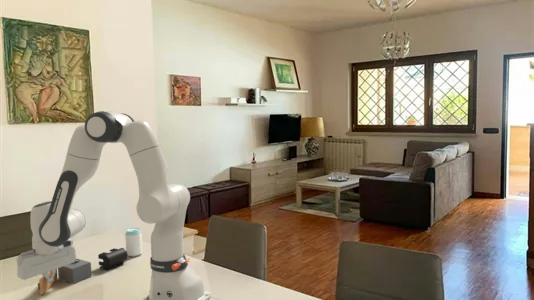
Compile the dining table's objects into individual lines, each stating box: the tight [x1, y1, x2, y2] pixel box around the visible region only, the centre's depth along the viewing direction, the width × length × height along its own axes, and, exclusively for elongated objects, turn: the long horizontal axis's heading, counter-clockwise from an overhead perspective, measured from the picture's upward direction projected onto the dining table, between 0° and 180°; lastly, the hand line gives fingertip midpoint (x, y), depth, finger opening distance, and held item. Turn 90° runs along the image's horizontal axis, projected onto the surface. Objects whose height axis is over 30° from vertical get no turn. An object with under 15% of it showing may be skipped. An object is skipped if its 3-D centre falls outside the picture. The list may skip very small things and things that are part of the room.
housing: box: [57, 257, 93, 285], centre depth 158 cm, size 10×8×7 cm
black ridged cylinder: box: [97, 247, 129, 271], centre depth 170 cm, size 10×7×7 cm
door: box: [37, 268, 59, 296], centre depth 150 cm, size 14×2×6 cm, turn 8°
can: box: [124, 227, 143, 258], centre depth 184 cm, size 7×7×12 cm
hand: (49, 282), depth 146 cm, fingers closed
